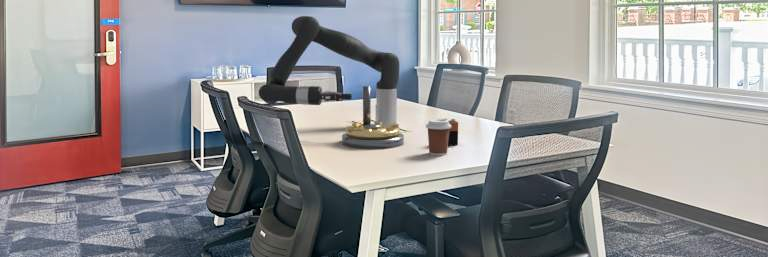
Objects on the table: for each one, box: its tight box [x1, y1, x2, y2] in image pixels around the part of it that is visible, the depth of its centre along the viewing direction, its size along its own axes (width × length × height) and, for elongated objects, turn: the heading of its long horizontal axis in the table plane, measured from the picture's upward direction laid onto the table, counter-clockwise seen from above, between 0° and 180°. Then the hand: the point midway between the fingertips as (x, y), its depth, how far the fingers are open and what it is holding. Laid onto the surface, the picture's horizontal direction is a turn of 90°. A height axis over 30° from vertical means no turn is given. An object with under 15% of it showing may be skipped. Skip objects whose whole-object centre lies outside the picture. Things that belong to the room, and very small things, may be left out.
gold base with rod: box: [345, 85, 401, 139], centre depth 248 cm, size 21×21×18 cm
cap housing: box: [341, 132, 405, 150], centre depth 250 cm, size 24×24×3 cm
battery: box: [443, 118, 459, 146], centre depth 246 cm, size 4×7×10 cm, turn 97°
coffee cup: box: [425, 118, 451, 156], centre depth 229 cm, size 9×9×12 cm
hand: (351, 96), depth 256 cm, fingers closed
